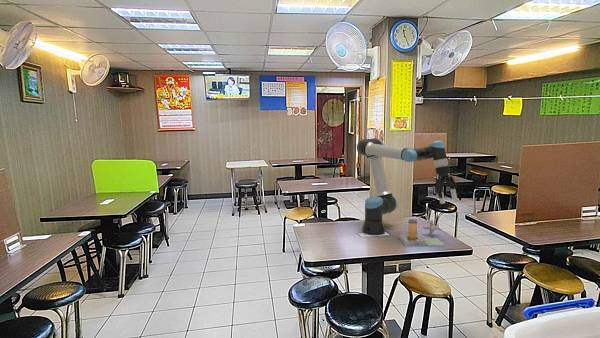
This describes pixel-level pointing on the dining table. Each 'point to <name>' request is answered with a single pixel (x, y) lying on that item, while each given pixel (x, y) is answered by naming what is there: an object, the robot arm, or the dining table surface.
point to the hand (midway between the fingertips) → (449, 201)
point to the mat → (433, 242)
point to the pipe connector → (431, 227)
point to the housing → (412, 241)
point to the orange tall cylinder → (412, 229)
